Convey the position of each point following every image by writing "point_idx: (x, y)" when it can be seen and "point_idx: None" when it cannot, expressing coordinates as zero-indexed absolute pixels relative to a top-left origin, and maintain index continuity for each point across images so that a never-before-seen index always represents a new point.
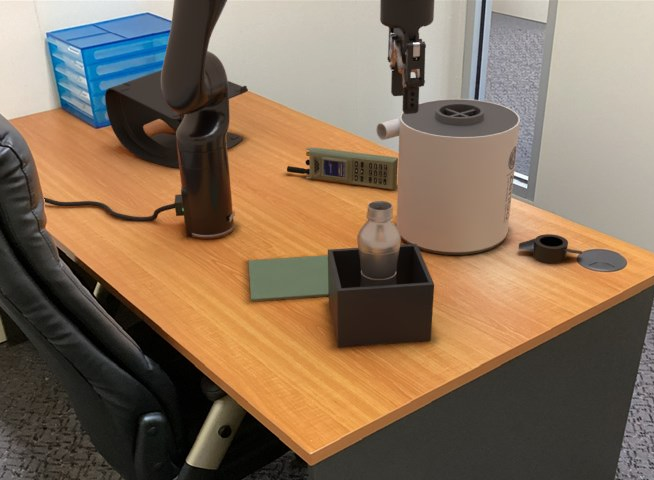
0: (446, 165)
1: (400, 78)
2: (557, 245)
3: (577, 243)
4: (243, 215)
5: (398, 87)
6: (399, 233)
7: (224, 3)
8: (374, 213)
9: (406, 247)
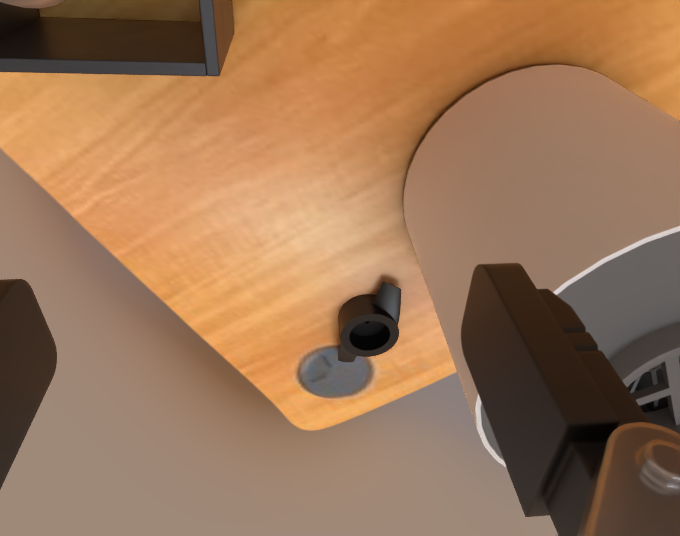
0: (483, 263)
1: (514, 417)
2: (376, 337)
3: (398, 360)
4: None
5: (489, 343)
6: (13, 4)
7: None
8: None
9: (203, 40)
